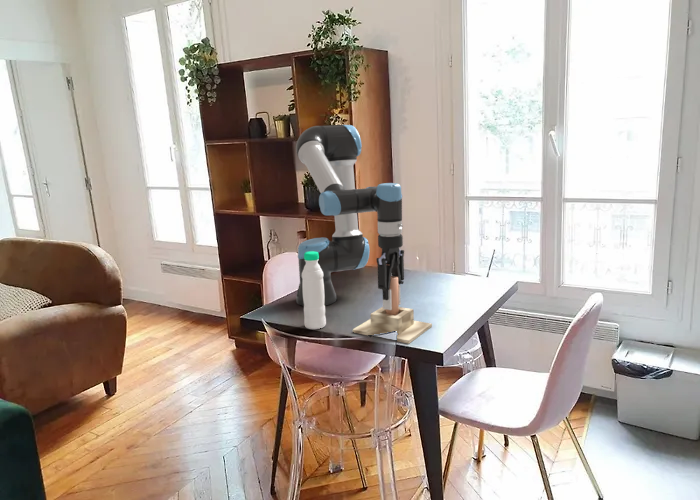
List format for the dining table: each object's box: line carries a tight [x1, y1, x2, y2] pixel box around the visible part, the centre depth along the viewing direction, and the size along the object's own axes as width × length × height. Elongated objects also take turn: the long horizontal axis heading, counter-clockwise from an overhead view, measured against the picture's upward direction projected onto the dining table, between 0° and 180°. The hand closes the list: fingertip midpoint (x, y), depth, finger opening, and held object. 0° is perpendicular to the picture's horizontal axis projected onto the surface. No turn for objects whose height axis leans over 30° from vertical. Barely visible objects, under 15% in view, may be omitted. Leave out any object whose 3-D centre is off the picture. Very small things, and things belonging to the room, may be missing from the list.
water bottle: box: [302, 251, 327, 330], centre depth 177 cm, size 7×7×25 cm
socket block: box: [352, 306, 433, 344], centre depth 174 cm, size 20×16×6 cm
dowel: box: [386, 275, 400, 316], centre depth 172 cm, size 4×4×16 cm
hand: (391, 306), depth 172 cm, fingers open, 5 cm apart
